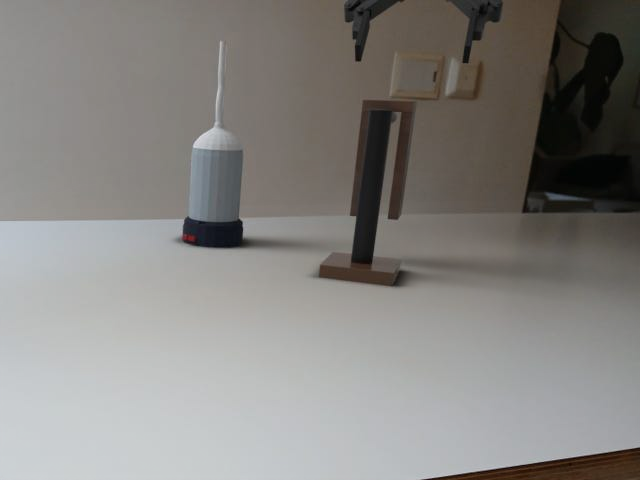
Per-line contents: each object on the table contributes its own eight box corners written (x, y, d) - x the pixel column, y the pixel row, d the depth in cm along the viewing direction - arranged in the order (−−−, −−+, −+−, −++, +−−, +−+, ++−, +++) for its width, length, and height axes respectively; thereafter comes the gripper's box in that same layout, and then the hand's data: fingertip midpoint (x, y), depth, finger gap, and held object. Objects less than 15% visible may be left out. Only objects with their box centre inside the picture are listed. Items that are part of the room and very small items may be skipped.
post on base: (404, 261, 93) (427, 109, 87) (391, 286, 80) (417, 111, 74) (340, 253, 96) (357, 106, 89) (318, 277, 83) (337, 108, 77)
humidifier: (174, 244, 98) (183, 38, 89) (191, 234, 105) (201, 43, 96) (234, 250, 95) (249, 39, 87) (248, 239, 103) (262, 44, 94)
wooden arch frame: (401, 215, 90) (416, 101, 86) (397, 220, 87) (414, 101, 82) (354, 211, 92) (367, 99, 88) (349, 216, 89) (362, 99, 84)
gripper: (527, -34, 103) (510, 78, 95) (346, -29, 112) (317, 74, 104) (537, -85, 97) (520, 30, 89) (345, -76, 106) (313, 30, 98)
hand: (410, 54), depth 97 cm, fingers open, 13 cm apart
